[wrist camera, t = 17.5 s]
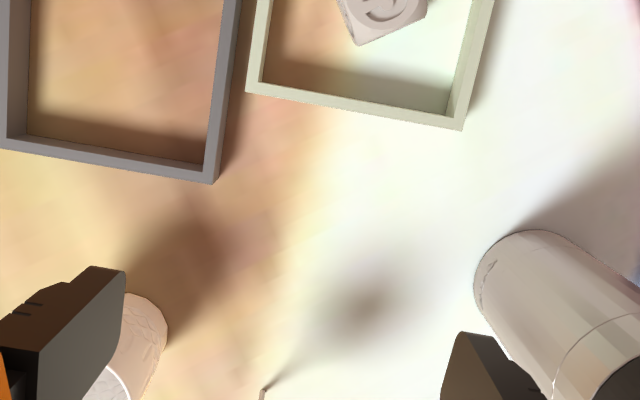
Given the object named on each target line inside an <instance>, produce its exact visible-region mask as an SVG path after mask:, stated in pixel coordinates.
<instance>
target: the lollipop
mask: <svg viewBox="0 0 640 400" xmlns="http://www.w3.org/2000/svg"><path fill="white" fill-rule="evenodd" d="M264 396H265V390H260V394H259V400H264Z"/></svg>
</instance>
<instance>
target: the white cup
mask: <svg viewBox="0 0 640 400" xmlns="http://www.w3.org/2000/svg"><path fill="white" fill-rule="evenodd" d="M167 329H168V326H167V324H166V321H165V319H164V317H163V315H162V313H161V311H160V310H159V309H158V308H157V307H156V306H155V305H154V304H152V303H151V302H150V301H149V300H148V299H146V298H143V297H140V296H137V295H134V294H131V293H125V295H124V305H123V314H122V324H121V333H120V338H119V342H118V345H117V348H116V351H115V353H114V355H113V357H112V359H111V360H110V362H109V363H108V364H107V366H106V367H105V369H104V370H103V371H102V373H101V374H100V375H99V377H98V378H97V380H96V381H95V382H94V384H93V385H92V386H91V388H90V389H89V391H88V392H87V393H86V395H85V396H84V397H83V399H82V400H142V399H143V397H144V395H145V393H146V390H147V388H148V386H149V384H150V382H151V379H152V376H153V374H154V372H155V370H156V367H157V365H158V361H159V358H160V356H161V354H162V351H163V349H164V347H165V345H166V343H167Z"/></svg>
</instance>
